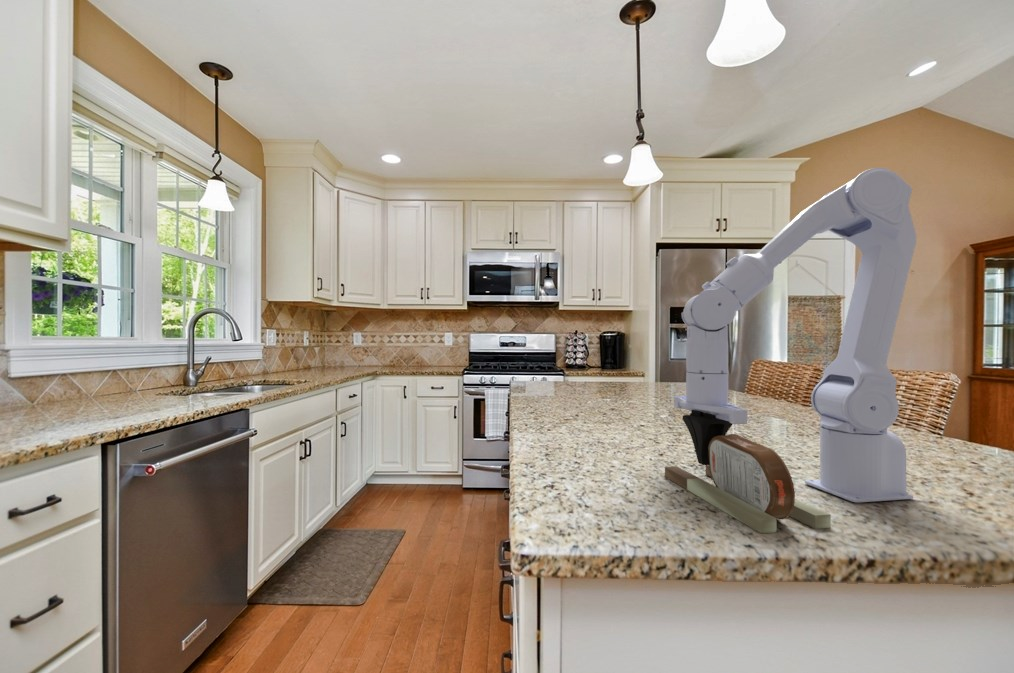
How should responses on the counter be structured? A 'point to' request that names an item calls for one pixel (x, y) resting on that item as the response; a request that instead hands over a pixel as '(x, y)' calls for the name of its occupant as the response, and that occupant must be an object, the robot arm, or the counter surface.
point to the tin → (752, 474)
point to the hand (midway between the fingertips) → (706, 463)
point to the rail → (745, 504)
